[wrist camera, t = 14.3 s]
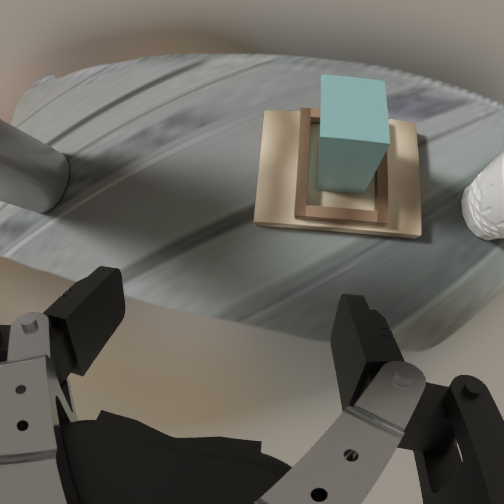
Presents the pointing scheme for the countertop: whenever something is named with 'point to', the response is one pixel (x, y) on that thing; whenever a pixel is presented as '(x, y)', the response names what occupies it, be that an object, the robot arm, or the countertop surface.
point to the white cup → (486, 202)
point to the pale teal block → (351, 132)
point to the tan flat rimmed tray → (331, 202)
